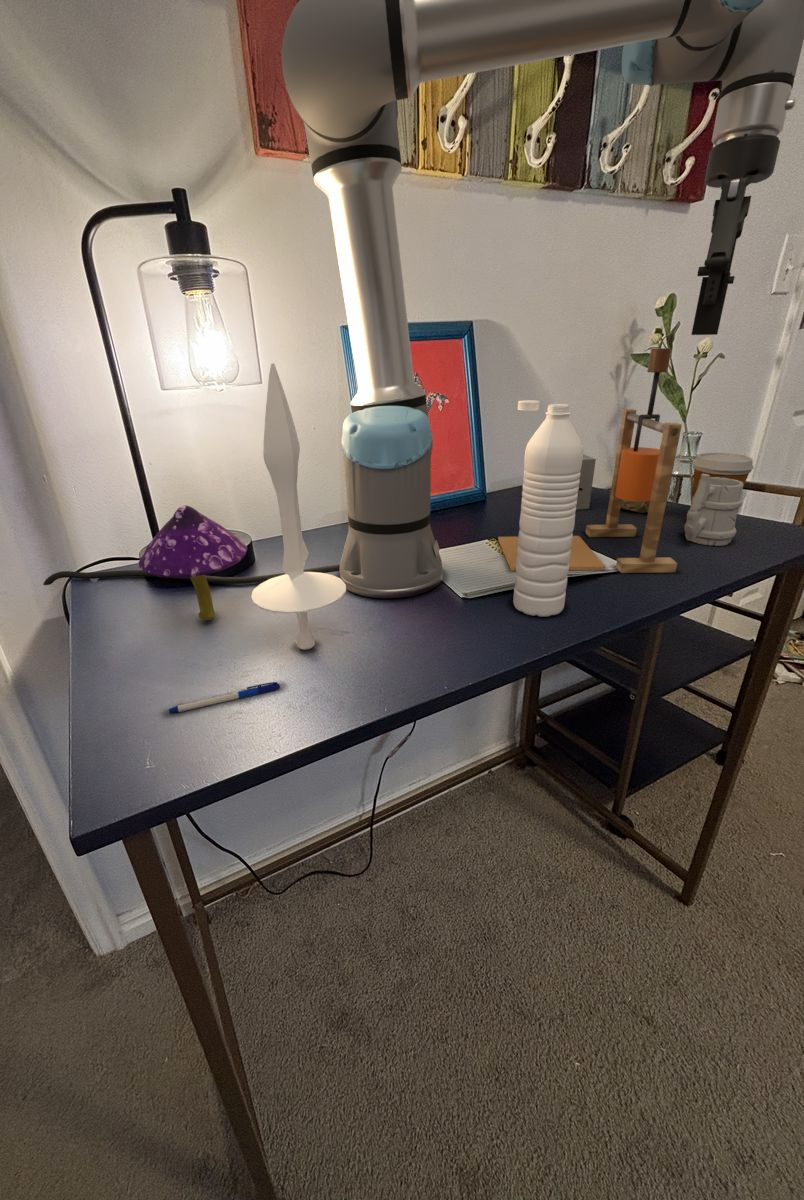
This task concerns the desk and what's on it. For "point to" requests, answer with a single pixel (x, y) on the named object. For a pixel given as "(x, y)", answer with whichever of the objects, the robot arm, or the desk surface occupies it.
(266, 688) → the ballpoint pen
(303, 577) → the sculpture
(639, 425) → the orange cylinder on rod
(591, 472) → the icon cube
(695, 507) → the mug
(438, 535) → the desk surface
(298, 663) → the desk surface
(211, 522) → the decorative mushroom
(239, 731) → the desk surface
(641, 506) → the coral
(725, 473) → the disposable coffee cup
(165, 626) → the desk surface
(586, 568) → the cork mat
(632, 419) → the rail stand
